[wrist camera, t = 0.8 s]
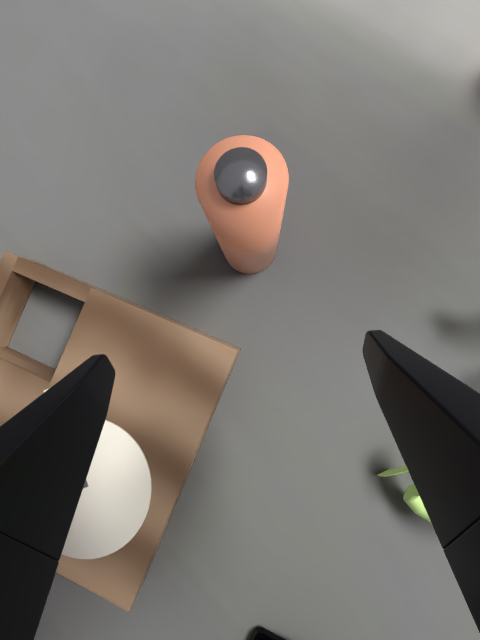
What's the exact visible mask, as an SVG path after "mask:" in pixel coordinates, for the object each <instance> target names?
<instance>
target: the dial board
mask: <svg viewBox="0 0 480 640" xmlns="http://www.w3.org/2000/svg"><path fill="white" fill-rule="evenodd" d="M36 281H37V282H39V283H42V284H44V285H46V286H49V287H51V288H53V289H56V290H58V291H60V292H62V293H65V294H67V295H69V296H72V297H74V298H76V299H79V300H81V301H83V302H85V303H84V306H83V308H82V310H81V313H80V315H79V317H78V319H77V322H76V324H75V326H74V329H73V331H72V333H71V336H70V338H69V340H68V343H67V345H66V347H65V350H64V352H63V354H62V357H61V359H60V361H59V364H58V366H57V368H56V370H55V369H53V368H51V367H49V366H47V365H45V364H42V363H40V362H38V361H36V360H34V359H32V358H30V357H27V356H25V355H23V354H21V353H19V352H17V351H15V350H12V349H10V348H8V347H7V346H8V344H9V342H10V339H11V337H12V335H13V332H14V330H15V328H16V325H17V323H18V321H19V319H20V316H21V314H22V312H23V309H24V307H25V305H26V303H27V300H28V298H29V296H30V293H31V291H32V289H33V287H34V284H35V282H36ZM239 352H240V348H238V347H235V346H233V345H230V344H228V343H226V342H223V341H221V340H219V339H216V338H214V337H212V336H209V335H207V334H205V333H202V332H200V331H198V330H195V329H193V328H191V327H188V326H186V325H184V324H181V323H179V322H177V321H174V320H172V319H169V318H167V317H165V316H162V315H160V314H158V313H155V312H153V311H151V310H148V309H146V308H144V307H141V306H139V305H137V304H134V303H132V302H130V301H127V300H125V299H123V298H120V297H118V296H115V295H113V294H111V293H108V292H106V291H104V290H101V289H99V288H97V287H94V286H92V285H90V284H87V283H85V282H83V281H80V280H78V279H76V278H73V277H71V276H69V275H66V274H64V273H62V272H59V271H57V270H54V269H52V268H50V267H47V266H45V265H43V264H40V263H38V262H36V261H33V260H31V259H28V258H25V257H22V256H19V255H16V254H13V253H10V252H7V251H5V253H4V255H3V257H2V260H1V262H0V426H1V425H3V424H4V423H5V422H7V421H8V420H9V419H11V418H12V417H13V416H14V415H16V414H17V413H18V412H20V411H21V410H22V409H24V408H25V407H26V406H27V405H29V404H30V403H31V402H33V401H34V400H35V399H36V398H38V397H39V396H40V395H42V394H43V393H44V392H46V391H47V390H48V389H49V388H51V387H52V386H53V385H55V384H56V383H57V382H58V381H60V380H61V379H62V378H64V377H65V376H66V375H68V374H69V373H70V372H71V371H73V370H74V369H75V368H77V367H78V366H79V365H80V364H82V363H83V362H84V361H86V360H87V359H88V358H90V357H91V356H92V355H97V354H105V355H106V356H107V357H108V359H109V360H110V362H111V364H112V365H113V367H114V369H115V380H114V385H113V390H112V394H111V399H110V404H109V409H108V413H107V416H106V420H105V423H104V426H103V429H102V432H101V435H100V438H99V441H98V444H97V447H96V450H95V453H94V456H93V460H92V463H91V466H90V469H89V472H88V475H87V478H86V481H85V484H84V487H83V490H82V493H81V496H80V499H79V502H78V505H77V508H76V511H75V514H74V517H73V520H72V524H71V527H70V530H69V533H68V536H67V539H66V542H65V545H64V548H63V551H62V554H61V557H60V560H59V564H58V567H57V570H56V573H58V574H60V575H62V576H64V577H66V578H67V579H69V580H71V581H73V582H75V583H77V584H78V585H80V586H82V587H84V588H86V589H88V590H89V591H91V592H93V593H95V594H97V595H99V596H101V597H102V598H104V599H106V600H108V601H110V602H112V603H113V604H115V605H117V606H119V607H121V608H123V609H124V610H126V611H128V612H129V611H130V609H131V607H132V605H133V602H134V600H135V598H136V596H137V594H138V592H139V590H140V588H141V586H142V584H143V582H144V579H145V577H146V575H147V572H148V570H149V567H150V565H151V563H152V560H153V558H154V555H155V553H156V551H157V548H158V546H159V543H160V541H161V539H162V536H163V534H164V531H165V529H166V527H167V524H168V522H169V519H170V517H171V515H172V512H173V510H174V507H175V505H176V503H177V500H178V498H179V495H180V493H181V491H182V488H183V486H184V483H185V481H186V479H187V476H188V474H189V471H190V469H191V467H192V464H193V462H194V459H195V457H196V455H197V452H198V450H199V447H200V445H201V443H202V440H203V438H204V435H205V433H206V431H207V428H208V426H209V423H210V421H211V419H212V416H213V414H214V411H215V409H216V407H217V404H218V402H219V399H220V397H221V395H222V392H223V390H224V388H225V385H226V383H227V380H228V378H229V376H230V373H231V371H232V368H233V366H234V364H235V361H236V359H237V356H238V354H239Z"/></svg>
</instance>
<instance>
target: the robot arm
mask: <svg viewBox="0 0 480 640" xmlns="http://www.w3.org/2000/svg"><path fill="white" fill-rule="evenodd" d="M363 356H364V360H365V363H366V366H367V370H368V373H369V376H370V379H371V383H372V386H373V389H374V392H375V395H376V398H377V400H378V403H379V405H380V407H381V410H382V412H383V414H384V416H385V419H386V421H387V423H388V425H389V428H390V430H391V432H392V435H393V437H394V439H395V441H396V444H397V446H398V448H399V450H400V453H401V455H402V457H403V459H404V462H405V464H406V466H407V469H408V471H409V473H410V475H411V478H412V480H413V482H414V484H415V487H416V489H417V491H418V493H419V496H420V498H421V500H422V503H423V505H424V507H425V509H426V512H427V514H428V516H429V518H430V521H431V523H432V525H433V527H434V530H435V532H436V534H437V537H438V539H439V541H440V543H441V546H442V548H443V549H444V553H445V555H446V557H447V560H448V562H449V564H450V566H451V569H452V571H453V573H454V575H455V578H456V580H457V582H458V585H459V587H460V589H461V591H462V594H463V596H464V598H465V600H466V603H467V605H468V607H469V610H470V612H471V614H472V616H473V619H474V621H475V623H476V625H477V628H478V630H479V632H480V393H478V392H477V391H475V390H474V389H472V388H470V387H469V386H467V385H466V384H464V383H463V382H461V381H459V380H458V379H456V378H455V377H453V376H452V375H450V374H449V373H447V372H445V371H444V370H442V369H441V368H439V367H438V366H436V365H435V364H433V363H431V362H430V361H428V360H427V359H425V358H424V357H422V356H420V355H419V354H417V353H416V352H414V351H413V350H411V349H410V348H408V347H406V346H405V345H403V344H402V343H400V342H399V341H397V340H395V339H394V338H392V337H391V336H389V335H388V334H386V333H385V332H383V331H381V330H372V331H368V332H367V333H366V335H365V340H364V345H363ZM114 380H115V369H114V367H113V365H112V364H111V362H110V360H109V359H108V357H107V356H106V355H105V354H97V355H92V356H91V357H90V358H88V359H87V360H86V361H84V362H83V363H82V364H80V365H79V366H78V367H77V368H75V369H74V370H73V371H71V372H70V373H69V374H68V375H66V376H65V377H64V378H62V379H61V380H60V381H58V382H57V383H56V384H55V385H53V386H52V387H51V388H49V389H48V390H47V391H46V392H44V393H43V394H42V395H40V396H39V397H38V398H36V399H35V400H34V401H33V402H31V403H30V404H29V405H27V406H26V407H25V408H24V409H22V410H21V411H20V412H18V413H17V414H16V415H14V416H13V417H12V418H11V419H9V420H8V421H7V422H5V423H4V424H3V425H1V426H0V640H34V637H35V634H36V631H37V628H38V625H39V622H40V619H41V616H42V612H43V609H44V606H45V603H46V600H47V597H48V594H49V591H50V588H51V585H52V582H53V579H54V576H55V573H56V570H57V567H58V564H59V560H60V557H61V554H62V551H63V548H64V545H65V542H66V539H67V536H68V533H69V530H70V527H71V524H72V520H73V517H74V514H75V511H76V508H77V505H78V502H79V499H80V496H81V493H82V490H83V487H84V484H85V481H86V478H87V475H88V472H89V469H90V466H91V463H92V460H93V456H94V453H95V450H96V447H97V444H98V441H99V438H100V435H101V432H102V429H103V426H104V423H105V420H106V416H107V413H108V409H109V404H110V399H111V394H112V390H113V385H114ZM260 636H261V637H263V638H259V637H260ZM251 640H285V639H283V638H281V637H279V636H278V635H276V634H274V633H272V632H270V631H268V630H266V629H264V628H261V627H259V628H257V629H256V630H255V632H254V634H253V637H252V639H251Z"/></svg>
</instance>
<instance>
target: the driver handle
mask: <svg viewBox="0 0 480 640" xmlns="http://www.w3.org/2000/svg"><path fill="white" fill-rule="evenodd" d="M288 183H289V175H288V169H287V165H286V162H285V160H284V158H283V156H282V155H281V153H280V152H279V151H278V150H277V149H276V148H275V147H274V146H273V145H272V144H271V143H269V142H267V141H266V140H264V139H261V138H259V137H255V136H249V135H239V136H233V137H229V138H227V139H224V140H222V141H220V142H218V143H217V144H215V145H214V146H213V147H212V148H211V149H209V150H208V152H207V153H206V154H205V155H204V157H203V158H202V160H201V162H200V164H199V166H198V169H197V172H196V178H195V188H196V193H197V196H198V199H199V202H200V204H201V206H202V208H203V210H204V212H205V215H206V217H207V219H208V221H209V223H210V225H211V227H212V230H213V232H214V234H215V236H216V238H217V240H218V243H219V245H220V247H221V249H222V251H223V253H224V255H225V258H226V260H227V262H228V263H229V264H230V265H231V267H233V268H234V269H235V270H237V271H239V272H241V273H246V274H254V273H258V272H261V271H263V270H264V269H266V268H267V267H268V266H269V265H270V264H271V263H272V262H273V260H274V258H275V255H276V252H277V246H278V240H279V235H280V229H281V224H282V218H283V212H284V207H285V201H286V195H287V190H288Z"/></svg>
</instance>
